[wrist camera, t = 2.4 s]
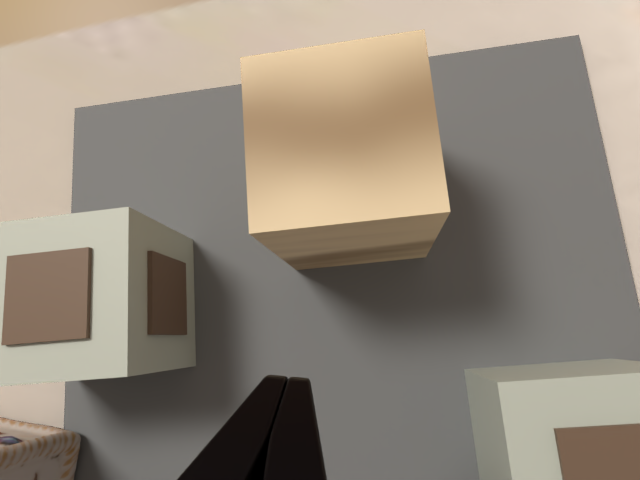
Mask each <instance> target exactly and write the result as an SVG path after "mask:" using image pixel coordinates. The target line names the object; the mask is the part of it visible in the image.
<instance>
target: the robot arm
mask: <svg viewBox="0 0 640 480" xmlns="http://www.w3.org/2000/svg"><path fill="white" fill-rule="evenodd" d="M177 480H327V476H326V470H325V464H324V458H323V452H322V446H321V440H320V434H319V429H318V423H317V417H316V411H315V405H314V399H313V393H312V387H311V382H310V380H309V379H308V378H302V377H290V378H289V379H288V378H287V377H286V376H281V375H267V376H265V377H264V378H263V379H262V380H261V382H260V383H259V384H258V385H257V386H256V387H255V389H254V390H253V391H252V392H251V393H250V395H249V396H248V397H247V398H246V399H245V400H244V402H243V403H242V404H241V405H240V406H239V407H238V409H237V410H236V411H235V412H234V413H233V414H232V416H231V417H230V418H229V419H228V420H227V421H226V423H225V424H224V425H223V426H222V427H221V428H220V430H219V431H218V432H217V433H216V434H215V435H214V437H213V438H212V439H211V440H210V441H209V442H208V444H207V445H206V446H205V447H204V448H203V449H202V451H201V452H200V453H199V454H198V455H197V456H196V458H195V459H194V460H193V461H192V462H191V464H190V465H189V466H188V467H187V468H186V469H185V471H184V472H183V473H182V474H181V475H180V476H179V478H178V479H177Z"/></svg>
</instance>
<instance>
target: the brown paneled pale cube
mask: <svg viewBox="0 0 640 480" xmlns="http://www.w3.org/2000/svg"><path fill="white" fill-rule="evenodd" d="M193 366H196V345H195V300H194V255H193V239H191V238H189V237H187V236H185V235H183V234H181V233H179V232H177V231H175V230H173V229H171V228H169V227H167V226H165V225H163V224H161V223H159V222H157V221H156V220H154V219H152V218H150V217H148V216H146V215H144V214H142V213H140V212H138V211H136V210H134V209H132V208H130V207H122V208H114V209H106V210H97V211H89V212H80V213H72V214H64V215H55V216H47V217H38V218H30V219H21V220H13V221H5V222H0V386H13V385H26V384H39V383H52V382H65V381H78V380H91V379H105V378H118V377H129V376H135V375H142V374H148V373H154V372H161V371H167V370H174V369H180V368H186V367H193Z"/></svg>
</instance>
